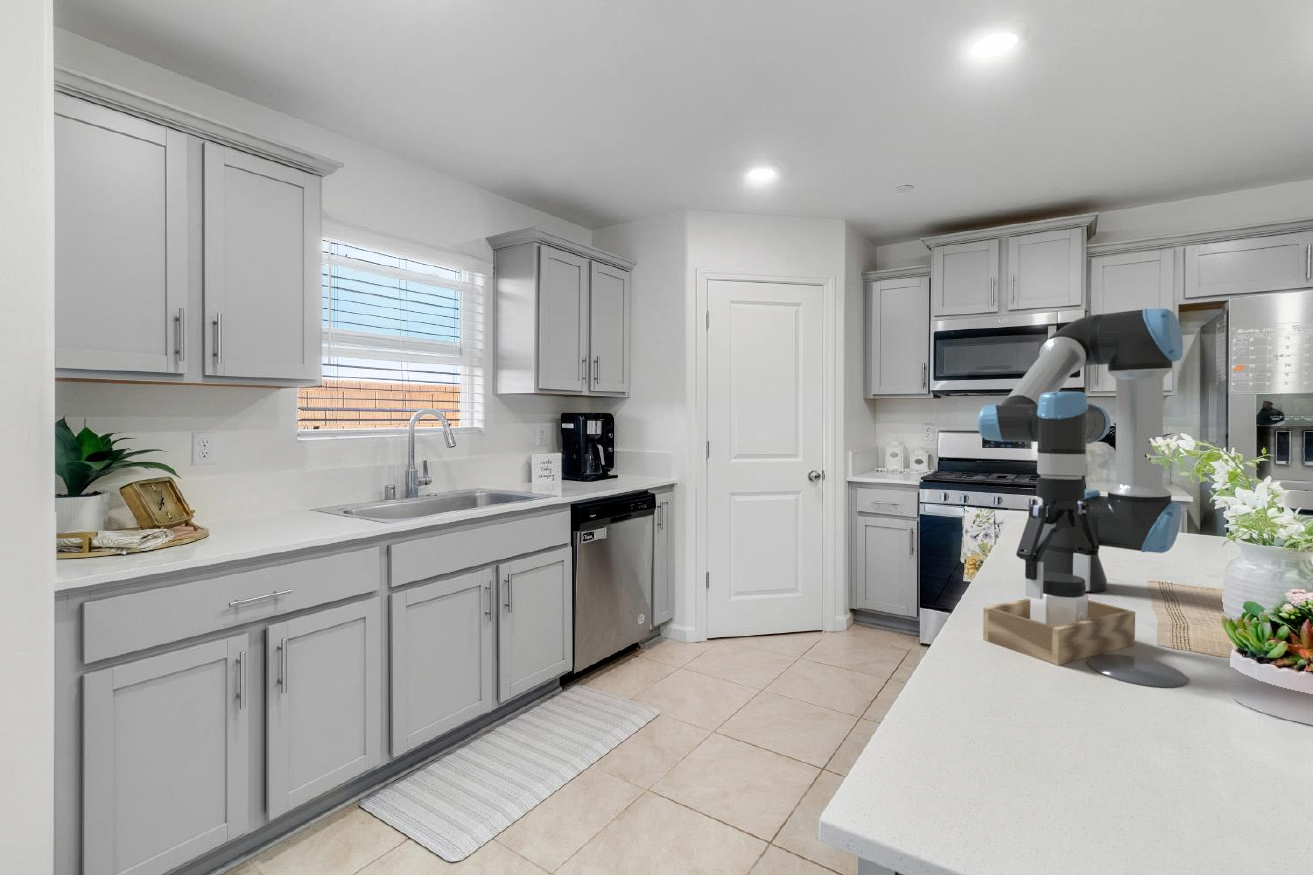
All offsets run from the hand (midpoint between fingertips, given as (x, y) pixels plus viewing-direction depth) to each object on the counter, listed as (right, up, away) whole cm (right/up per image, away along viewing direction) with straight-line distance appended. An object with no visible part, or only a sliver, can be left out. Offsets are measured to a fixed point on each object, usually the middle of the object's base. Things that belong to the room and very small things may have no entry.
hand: (1058, 593), depth 119 cm
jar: (0, -9, +1) cm, 9 cm away
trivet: (+5, -10, -13) cm, 17 cm away
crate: (0, -9, +1) cm, 9 cm away
